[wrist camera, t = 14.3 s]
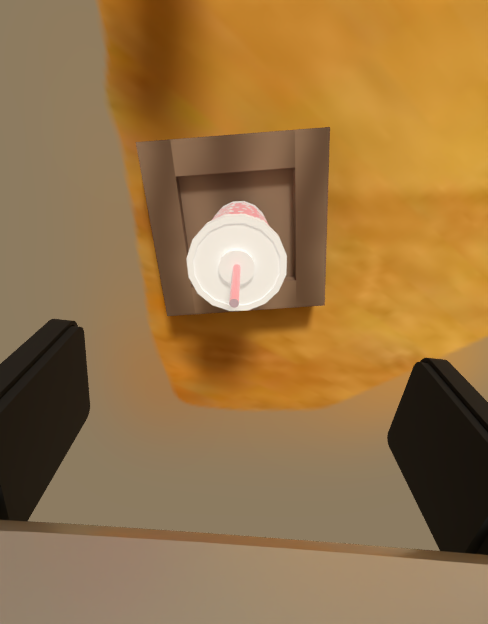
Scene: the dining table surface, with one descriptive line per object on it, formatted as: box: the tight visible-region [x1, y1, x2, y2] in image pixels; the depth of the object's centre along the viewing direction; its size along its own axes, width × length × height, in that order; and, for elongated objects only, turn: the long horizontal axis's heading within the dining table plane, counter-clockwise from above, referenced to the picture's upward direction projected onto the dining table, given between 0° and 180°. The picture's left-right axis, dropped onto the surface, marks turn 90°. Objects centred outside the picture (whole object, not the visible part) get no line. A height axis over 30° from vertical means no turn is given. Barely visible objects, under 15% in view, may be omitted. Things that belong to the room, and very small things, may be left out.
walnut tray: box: [136, 127, 330, 316], centre depth 30 cm, size 14×14×4 cm
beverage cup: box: [186, 201, 287, 311], centre depth 23 cm, size 6×6×14 cm
